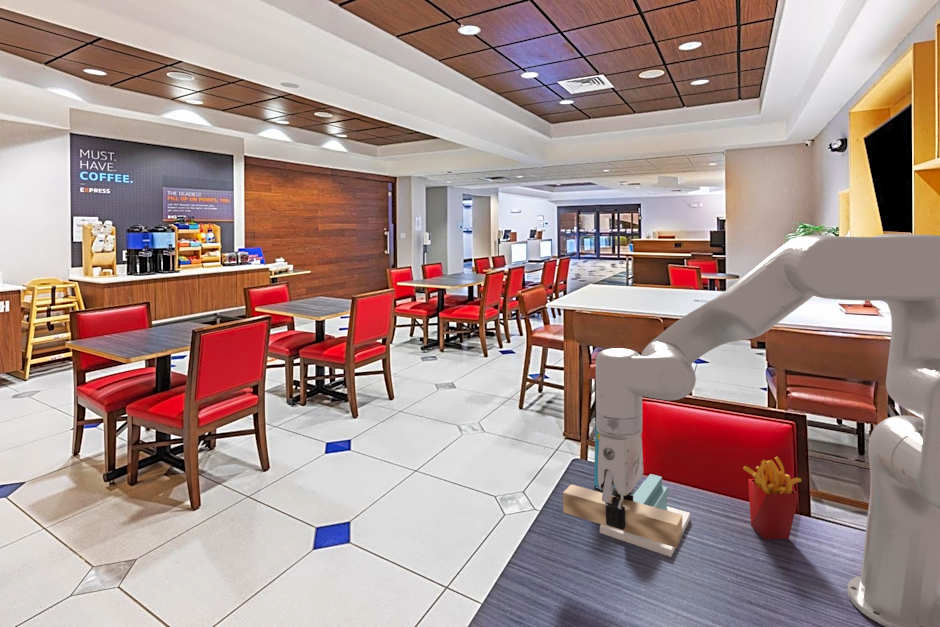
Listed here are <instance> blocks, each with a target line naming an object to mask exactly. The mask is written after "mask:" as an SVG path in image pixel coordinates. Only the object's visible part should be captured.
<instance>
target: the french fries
mask: <svg viewBox="0 0 940 627" xmlns="http://www.w3.org/2000/svg"><path fill="white" fill-rule="evenodd" d="M774 459H775V461H776V463H777V464H778V466H779V467H778V466H777V464H776V463H775V462H774V460H773V459H770V460H766V459H762V461H760V466H759V465H757V466H756V467H755V469H756V470H757V472H756V471H755V470H753V469H752V468H751V467H749V466H747V465H744V466H743V470H744V471H745V472H747V473H749V474H750V475H751V476H752V477H753V478H748V480H747V481H748V496H749V497H748V498H749V500H748V501H749V513H750V514H749V515H750V526H751V527H752V528H753V529H754V530H755V531H756V532H757V533H758V535H759V536H761V537H762V538H763V539H764V540H780V539H781V540H782V539H783V540H784V539H785V540H786V539H790V534H791V530H792V528H793V527H792V526H793V522H794V518H795V513H796V509H797V505H798V501H799V497H800V495H799V494H800V493H798V491H795V489H793V486H794V485H795V484H797V483H800V482H801V483H802V478H800V477H794V478H792V479H791V475H790V474H787V473H785V468H784V465H783V463H782V461H781V459H780V458H779V457H778V456H776V457H774ZM779 468H780V469H779Z"/></svg>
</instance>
